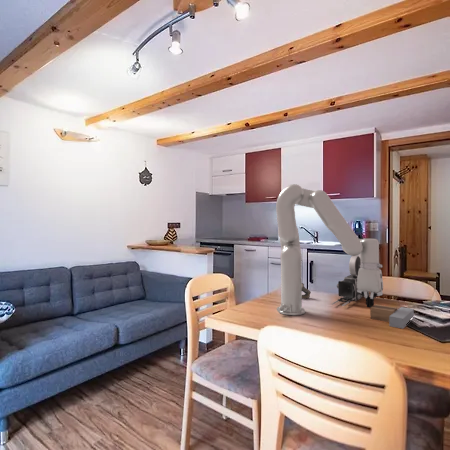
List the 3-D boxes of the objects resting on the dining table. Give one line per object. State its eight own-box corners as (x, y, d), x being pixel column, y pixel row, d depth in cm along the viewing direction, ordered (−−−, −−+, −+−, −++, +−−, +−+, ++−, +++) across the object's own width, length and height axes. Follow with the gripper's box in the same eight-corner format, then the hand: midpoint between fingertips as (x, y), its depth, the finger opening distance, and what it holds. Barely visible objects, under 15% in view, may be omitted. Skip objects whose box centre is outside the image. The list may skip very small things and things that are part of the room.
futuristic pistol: (287, 306, 179) (279, 290, 179) (312, 295, 177) (303, 278, 177) (288, 307, 176) (279, 291, 177) (312, 296, 174) (304, 279, 175)
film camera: (350, 291, 191) (350, 252, 191) (371, 294, 184) (371, 253, 183) (324, 306, 160) (323, 258, 160) (348, 310, 153) (347, 260, 152)
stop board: (403, 328, 126) (403, 318, 126) (389, 326, 129) (389, 316, 129) (413, 318, 139) (413, 309, 139) (401, 315, 142) (401, 307, 142)
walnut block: (392, 323, 133) (392, 311, 133) (370, 319, 139) (370, 307, 139) (397, 319, 138) (397, 307, 138) (375, 315, 144) (375, 304, 144)
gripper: (390, 266, 140) (390, 308, 140) (355, 263, 150) (355, 302, 150) (385, 268, 135) (385, 311, 135) (349, 265, 145) (349, 305, 145)
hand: (369, 306), depth 143 cm, fingers closed
